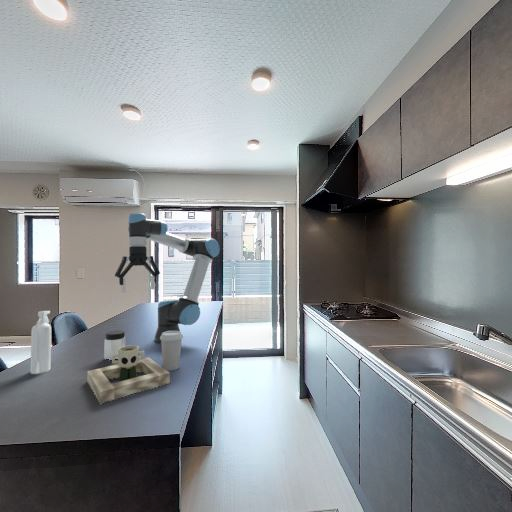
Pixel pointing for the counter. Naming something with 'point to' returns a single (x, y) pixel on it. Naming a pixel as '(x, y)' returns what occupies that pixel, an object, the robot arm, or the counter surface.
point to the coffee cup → (171, 349)
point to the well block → (109, 391)
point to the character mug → (128, 361)
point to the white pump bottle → (41, 344)
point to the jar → (113, 343)
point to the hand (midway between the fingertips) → (138, 290)
